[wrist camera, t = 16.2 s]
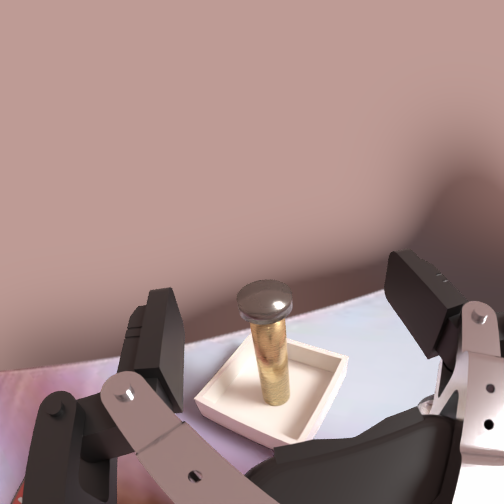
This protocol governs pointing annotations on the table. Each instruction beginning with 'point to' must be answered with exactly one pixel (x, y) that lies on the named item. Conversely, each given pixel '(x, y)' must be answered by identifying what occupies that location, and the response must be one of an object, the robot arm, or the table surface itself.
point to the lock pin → (269, 334)
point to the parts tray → (262, 414)
